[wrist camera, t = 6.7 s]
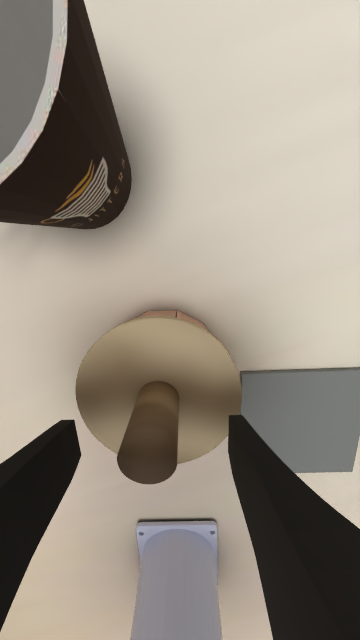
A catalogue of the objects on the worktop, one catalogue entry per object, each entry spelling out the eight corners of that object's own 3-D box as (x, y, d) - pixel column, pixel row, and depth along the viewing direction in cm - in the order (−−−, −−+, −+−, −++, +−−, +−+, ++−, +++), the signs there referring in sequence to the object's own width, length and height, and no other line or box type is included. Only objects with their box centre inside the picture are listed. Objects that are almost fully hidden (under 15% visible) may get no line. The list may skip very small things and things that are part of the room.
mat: (348, 467, 19) (352, 471, 19) (238, 469, 20) (239, 474, 19) (368, 367, 17) (372, 369, 16) (240, 371, 17) (242, 374, 17)
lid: (242, 447, 14) (272, 537, 9) (101, 460, 15) (63, 552, 10) (232, 305, 12) (264, 332, 7) (63, 327, 12) (-10, 365, 8)
